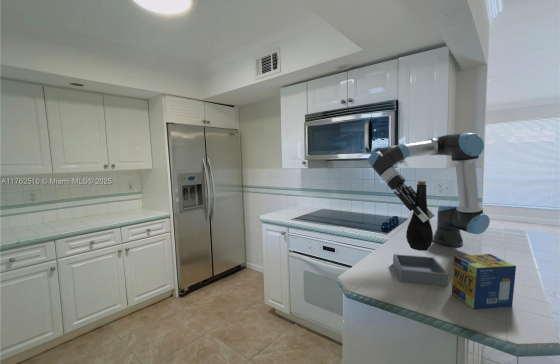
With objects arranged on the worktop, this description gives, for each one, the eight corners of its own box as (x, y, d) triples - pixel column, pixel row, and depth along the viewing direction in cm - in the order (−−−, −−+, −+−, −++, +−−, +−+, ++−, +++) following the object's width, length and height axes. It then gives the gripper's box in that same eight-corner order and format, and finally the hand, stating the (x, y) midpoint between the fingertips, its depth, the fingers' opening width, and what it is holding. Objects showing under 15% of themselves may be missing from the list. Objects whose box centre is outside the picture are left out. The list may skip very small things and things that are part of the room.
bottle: (429, 244, 119) (432, 180, 116) (435, 253, 109) (438, 183, 106) (404, 242, 123) (406, 179, 119) (407, 250, 113) (410, 182, 109)
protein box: (450, 293, 101) (453, 255, 99) (487, 291, 102) (490, 253, 100) (473, 310, 90) (476, 267, 89) (513, 307, 92) (517, 265, 90)
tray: (433, 267, 124) (434, 257, 123) (447, 286, 106) (448, 274, 106) (393, 263, 128) (393, 254, 127) (400, 281, 111) (400, 270, 110)
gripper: (396, 182, 130) (430, 219, 120) (377, 186, 118) (413, 228, 108) (408, 172, 126) (444, 210, 115) (389, 175, 113) (427, 218, 103)
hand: (429, 219), depth 112 cm, fingers closed on bottle, 6 cm apart
